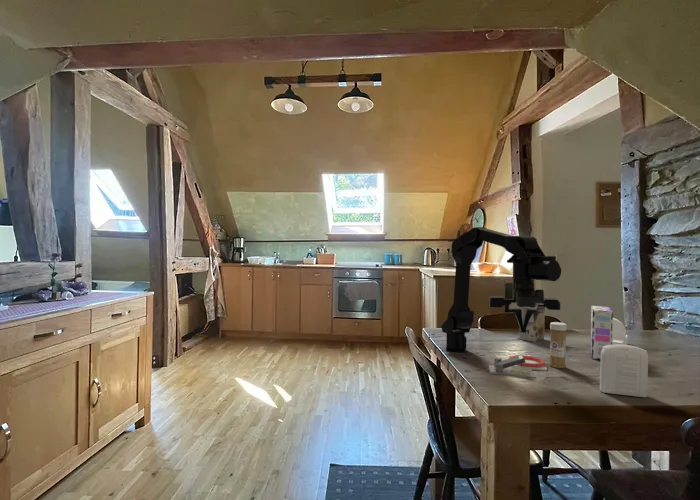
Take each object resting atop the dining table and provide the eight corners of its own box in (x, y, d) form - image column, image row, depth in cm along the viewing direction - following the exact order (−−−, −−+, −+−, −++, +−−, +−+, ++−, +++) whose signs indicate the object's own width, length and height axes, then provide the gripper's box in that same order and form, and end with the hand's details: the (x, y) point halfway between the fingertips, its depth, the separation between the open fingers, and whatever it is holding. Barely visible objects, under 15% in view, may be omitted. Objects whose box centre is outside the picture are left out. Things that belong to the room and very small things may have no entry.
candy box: (612, 361, 132) (613, 311, 132) (591, 359, 134) (592, 309, 134) (609, 352, 144) (610, 306, 144) (590, 350, 147) (590, 304, 146)
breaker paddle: (496, 366, 118) (524, 358, 116) (495, 362, 122) (522, 354, 120) (498, 370, 118) (525, 362, 116) (497, 366, 122) (523, 358, 120)
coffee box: (535, 342, 158) (535, 301, 158) (518, 339, 163) (519, 299, 163) (544, 338, 164) (545, 299, 164) (528, 336, 169) (529, 297, 169)
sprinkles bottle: (547, 366, 125) (548, 323, 125) (551, 363, 129) (552, 321, 129) (564, 369, 122) (564, 325, 122) (567, 366, 126) (568, 323, 126)
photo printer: (643, 393, 103) (644, 344, 103) (650, 399, 99) (651, 348, 99) (597, 388, 106) (598, 341, 106) (602, 394, 102) (603, 345, 102)
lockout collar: (511, 367, 124) (511, 362, 124) (508, 359, 133) (508, 354, 133) (547, 370, 121) (547, 365, 121) (541, 361, 131) (541, 356, 131)
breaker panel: (490, 373, 117) (490, 363, 117) (488, 366, 124) (489, 357, 124) (535, 377, 114) (535, 367, 114) (531, 370, 121) (531, 360, 121)
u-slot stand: (627, 344, 158) (628, 316, 158) (621, 353, 144) (622, 322, 144) (599, 340, 164) (599, 313, 164) (590, 348, 150) (591, 319, 150)
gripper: (491, 279, 113) (490, 335, 113) (565, 281, 108) (564, 340, 108) (488, 277, 124) (488, 328, 124) (556, 279, 119) (555, 332, 119)
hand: (522, 332), depth 118 cm, fingers closed
